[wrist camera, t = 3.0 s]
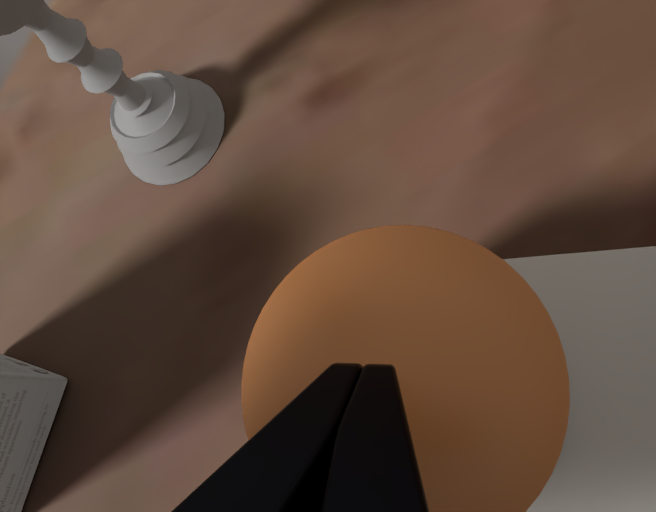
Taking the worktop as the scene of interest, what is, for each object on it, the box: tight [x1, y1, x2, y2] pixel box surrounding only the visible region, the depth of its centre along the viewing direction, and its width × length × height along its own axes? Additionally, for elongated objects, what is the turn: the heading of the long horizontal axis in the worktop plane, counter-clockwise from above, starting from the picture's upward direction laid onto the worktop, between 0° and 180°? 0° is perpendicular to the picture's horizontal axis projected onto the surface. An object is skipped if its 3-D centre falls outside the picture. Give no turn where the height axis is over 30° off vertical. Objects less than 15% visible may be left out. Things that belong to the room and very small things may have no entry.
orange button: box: [241, 225, 570, 512], centre depth 11 cm, size 5×5×3 cm
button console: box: [503, 246, 656, 512], centre depth 16 cm, size 15×6×7 cm, turn 91°
